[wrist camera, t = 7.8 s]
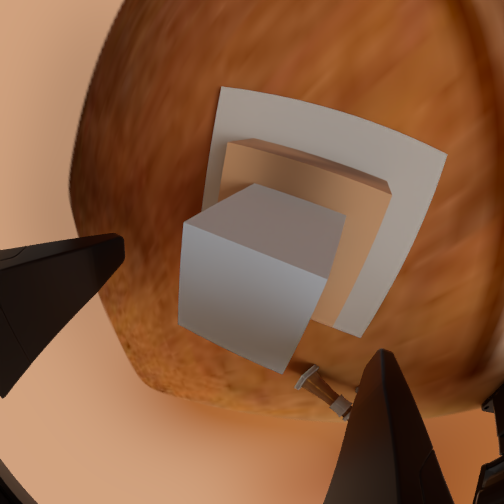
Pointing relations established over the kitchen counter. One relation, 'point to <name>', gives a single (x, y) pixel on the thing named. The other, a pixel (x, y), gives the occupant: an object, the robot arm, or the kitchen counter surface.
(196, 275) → the grey block
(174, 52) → the kitchen counter surface
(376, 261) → the build mat
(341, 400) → the wooden post with brackets
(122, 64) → the kitchen counter surface
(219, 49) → the kitchen counter surface
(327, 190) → the plinth
